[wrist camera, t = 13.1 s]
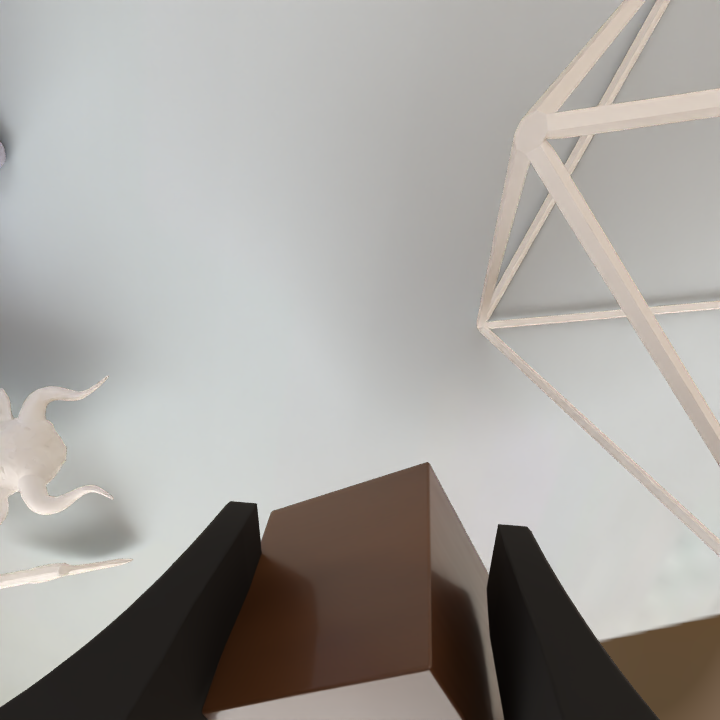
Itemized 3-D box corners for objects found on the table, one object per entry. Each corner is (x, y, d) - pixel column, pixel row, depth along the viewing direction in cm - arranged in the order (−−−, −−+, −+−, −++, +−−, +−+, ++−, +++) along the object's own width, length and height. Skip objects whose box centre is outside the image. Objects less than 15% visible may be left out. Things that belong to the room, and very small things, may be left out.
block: (494, 583, 14) (525, 810, 10) (347, 617, 15) (317, 832, 11) (428, 459, 13) (431, 667, 8) (270, 510, 14) (198, 713, 9)
